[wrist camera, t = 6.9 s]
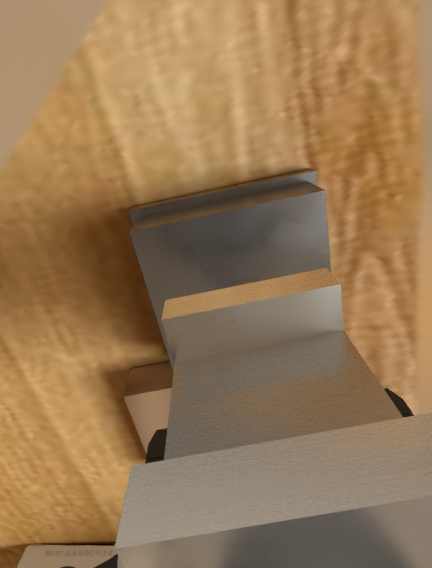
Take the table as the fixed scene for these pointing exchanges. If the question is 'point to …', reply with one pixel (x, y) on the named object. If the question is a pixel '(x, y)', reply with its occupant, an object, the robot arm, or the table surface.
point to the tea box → (65, 556)
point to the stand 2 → (230, 237)
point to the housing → (278, 443)
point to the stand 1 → (149, 398)
